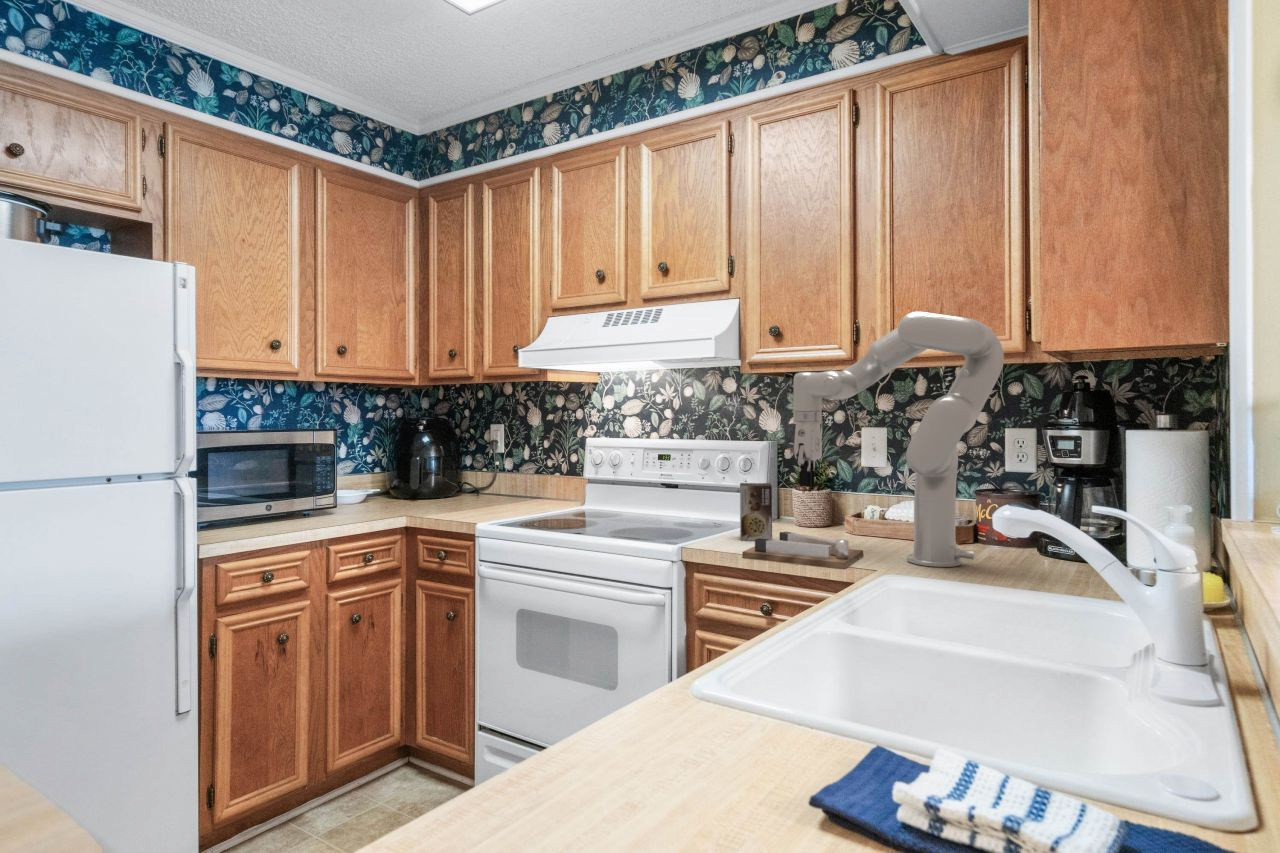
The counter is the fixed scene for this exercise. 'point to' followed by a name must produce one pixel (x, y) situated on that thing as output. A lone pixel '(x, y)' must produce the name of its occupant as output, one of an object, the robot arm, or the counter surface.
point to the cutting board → (805, 558)
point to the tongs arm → (807, 540)
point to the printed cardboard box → (755, 511)
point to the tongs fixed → (802, 548)
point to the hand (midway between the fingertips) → (806, 485)
